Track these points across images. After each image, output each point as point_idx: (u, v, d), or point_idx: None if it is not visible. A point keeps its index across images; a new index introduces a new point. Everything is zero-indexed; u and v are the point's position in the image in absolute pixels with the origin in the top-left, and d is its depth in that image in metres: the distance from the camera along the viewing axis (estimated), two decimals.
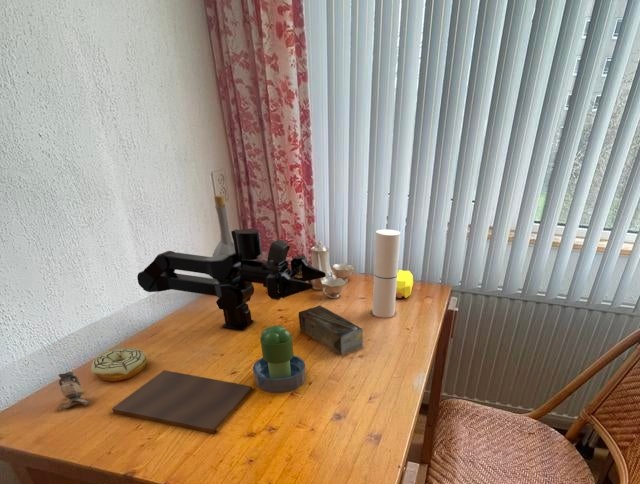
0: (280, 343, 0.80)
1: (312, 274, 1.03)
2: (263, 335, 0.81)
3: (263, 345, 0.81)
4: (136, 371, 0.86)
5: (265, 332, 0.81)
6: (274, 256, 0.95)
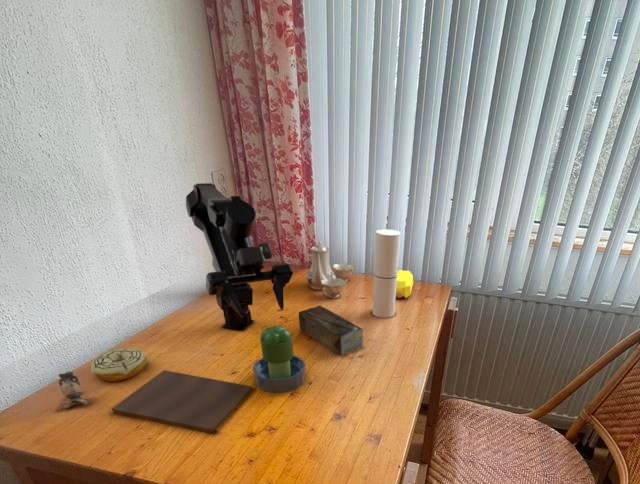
0: (280, 343, 0.80)
1: (277, 295, 0.90)
2: (263, 335, 0.81)
3: (263, 345, 0.81)
4: (136, 371, 0.86)
5: (265, 332, 0.81)
6: (239, 259, 0.82)
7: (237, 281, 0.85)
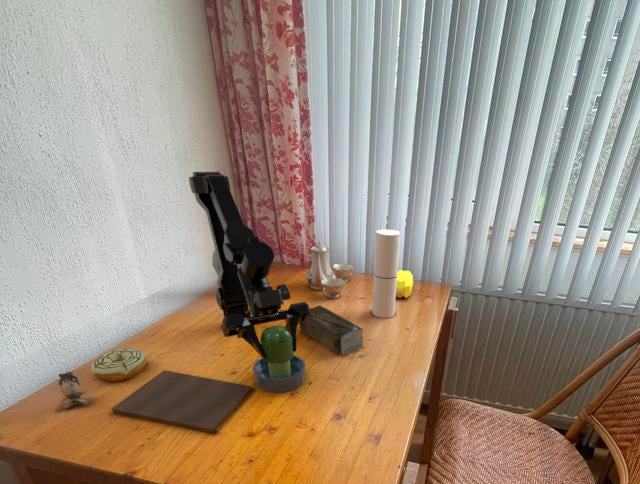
0: (280, 343, 0.80)
1: None
2: (263, 335, 0.81)
3: (263, 345, 0.81)
4: (136, 371, 0.86)
5: (265, 332, 0.81)
6: (257, 301, 0.79)
7: (254, 322, 0.82)
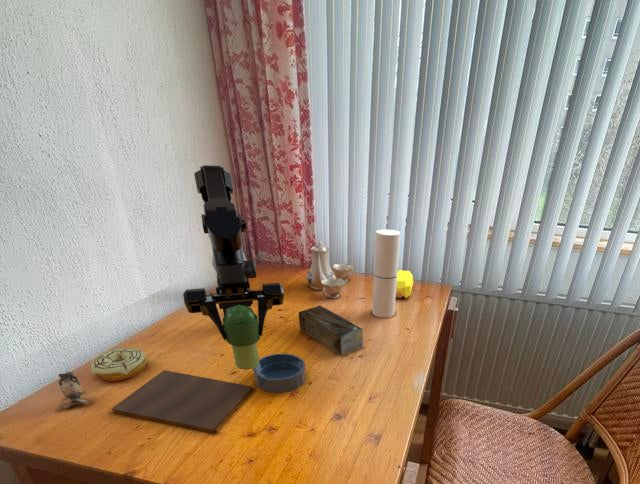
0: (240, 324, 0.74)
1: (258, 318, 0.79)
2: (225, 314, 0.75)
3: None
4: (136, 371, 0.86)
5: (227, 311, 0.75)
6: None
7: (219, 300, 0.77)
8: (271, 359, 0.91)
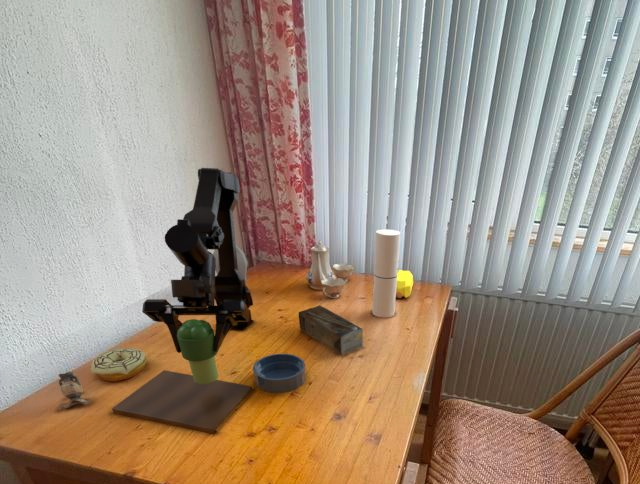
0: (190, 339, 0.72)
1: None
2: None
3: (177, 338, 0.74)
4: (136, 371, 0.86)
5: (182, 324, 0.74)
6: None
7: (181, 312, 0.76)
8: (271, 359, 0.91)
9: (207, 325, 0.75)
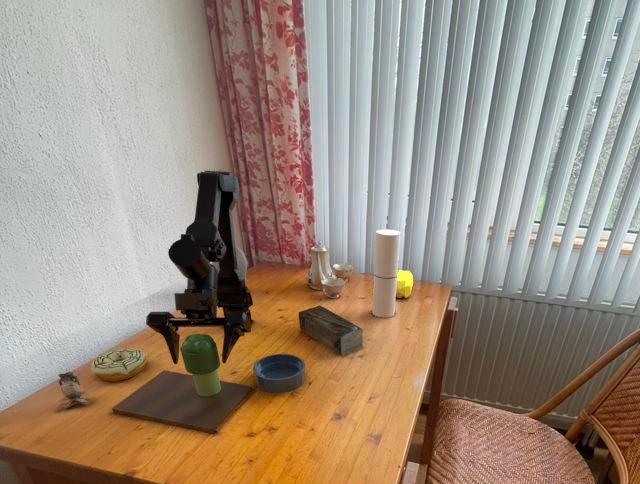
0: (193, 353, 0.74)
1: None
2: None
3: (181, 352, 0.76)
4: (136, 371, 0.86)
5: (186, 339, 0.76)
6: None
7: (184, 324, 0.77)
8: (271, 359, 0.91)
9: (210, 339, 0.76)
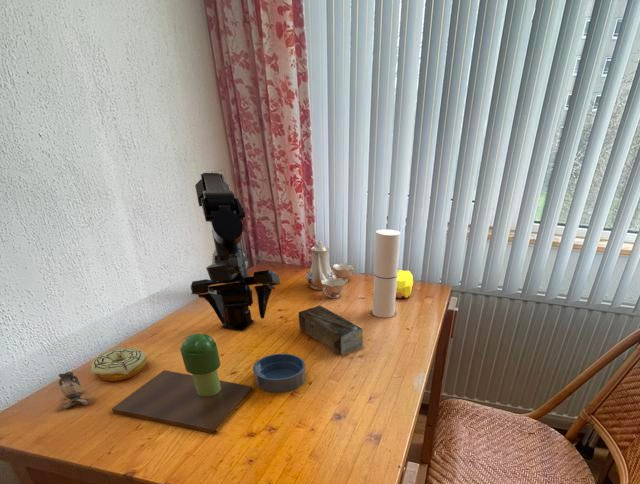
0: (193, 353, 0.74)
1: None
2: None
3: (181, 352, 0.76)
4: (136, 371, 0.86)
5: (186, 339, 0.76)
6: None
7: (222, 287, 0.87)
8: (271, 359, 0.91)
9: (210, 339, 0.76)
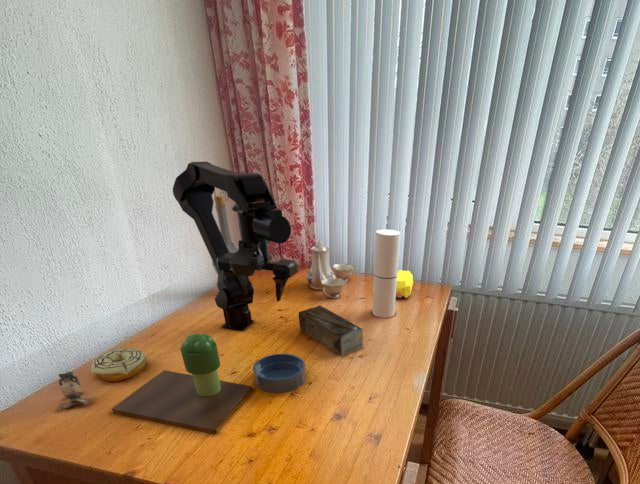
0: (193, 353, 0.74)
1: None
2: None
3: (181, 352, 0.76)
4: (136, 371, 0.86)
5: (186, 339, 0.76)
6: None
7: None
8: (271, 359, 0.91)
9: (210, 339, 0.76)
